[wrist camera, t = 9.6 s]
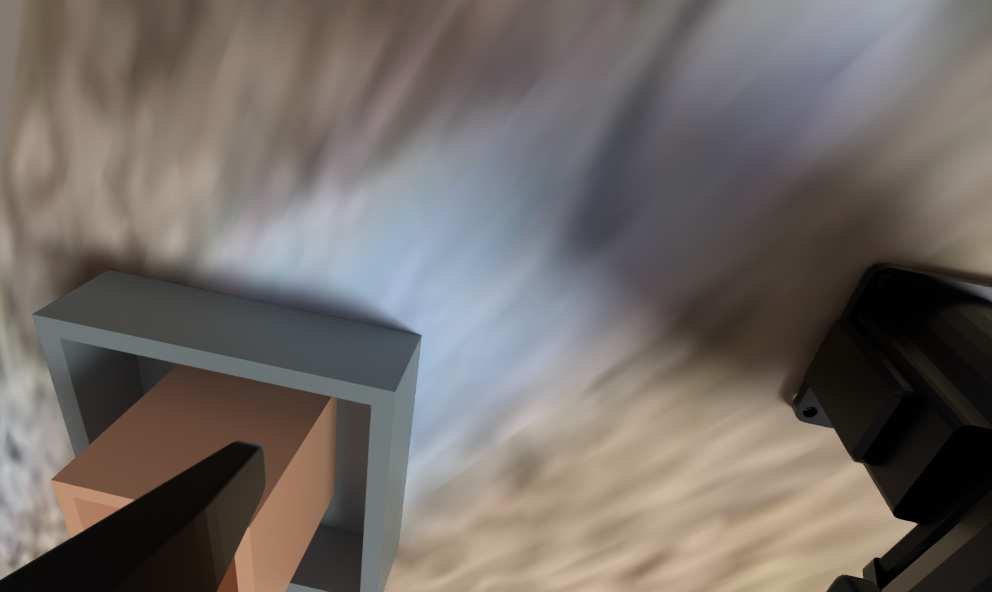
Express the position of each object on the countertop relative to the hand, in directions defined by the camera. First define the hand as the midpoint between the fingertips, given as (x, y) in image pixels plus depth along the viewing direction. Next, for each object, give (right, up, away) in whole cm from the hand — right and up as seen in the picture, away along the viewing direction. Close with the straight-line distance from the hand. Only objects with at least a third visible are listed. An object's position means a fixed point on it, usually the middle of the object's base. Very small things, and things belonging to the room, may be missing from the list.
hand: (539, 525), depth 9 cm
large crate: (-11, -2, +17) cm, 20 cm away
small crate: (-11, -2, +16) cm, 20 cm away
